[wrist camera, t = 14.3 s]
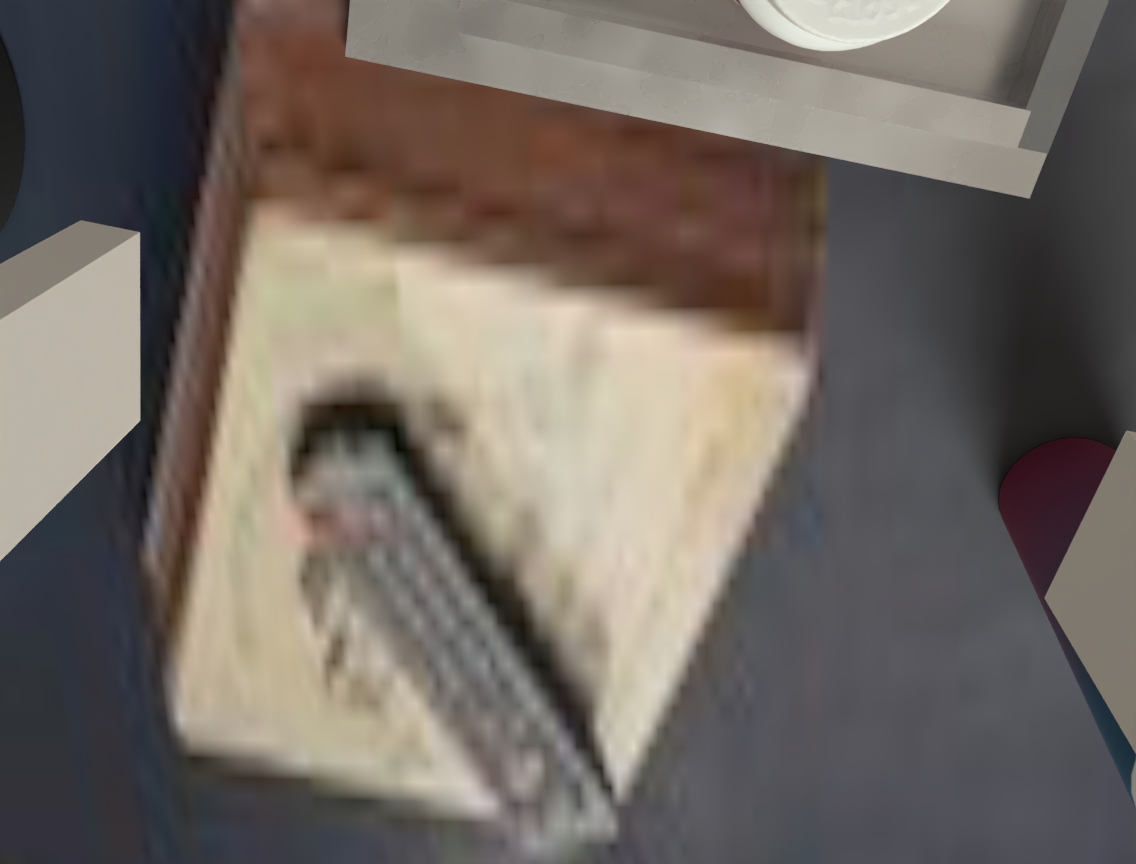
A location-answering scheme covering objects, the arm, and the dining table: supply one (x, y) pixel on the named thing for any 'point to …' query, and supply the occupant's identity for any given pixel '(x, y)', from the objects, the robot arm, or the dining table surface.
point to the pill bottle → (839, 20)
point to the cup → (1062, 549)
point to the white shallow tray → (771, 74)
